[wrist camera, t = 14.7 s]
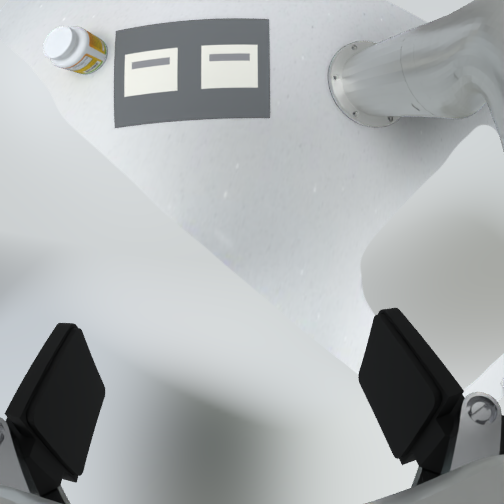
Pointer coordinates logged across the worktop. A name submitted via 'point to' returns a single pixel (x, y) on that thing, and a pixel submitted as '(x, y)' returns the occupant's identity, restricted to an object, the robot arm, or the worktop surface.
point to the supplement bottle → (75, 49)
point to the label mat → (192, 71)
